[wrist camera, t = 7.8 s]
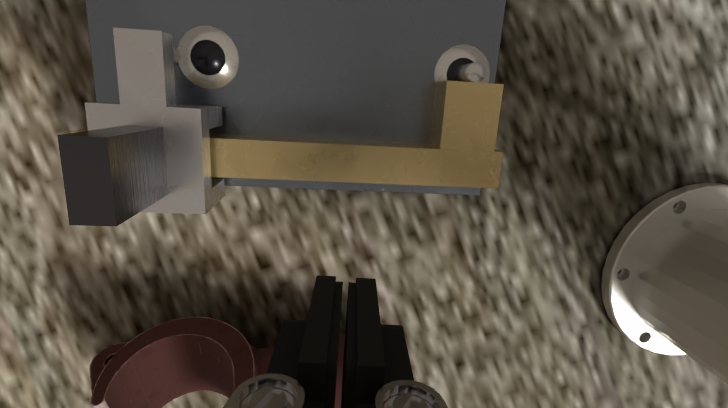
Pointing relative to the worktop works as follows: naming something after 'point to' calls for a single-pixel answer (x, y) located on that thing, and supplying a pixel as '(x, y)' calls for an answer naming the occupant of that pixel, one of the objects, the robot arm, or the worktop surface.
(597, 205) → the worktop surface
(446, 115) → the beam
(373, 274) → the worktop surface
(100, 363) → the bracket
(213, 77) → the hole plate
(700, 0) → the worktop surface
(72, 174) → the slider
